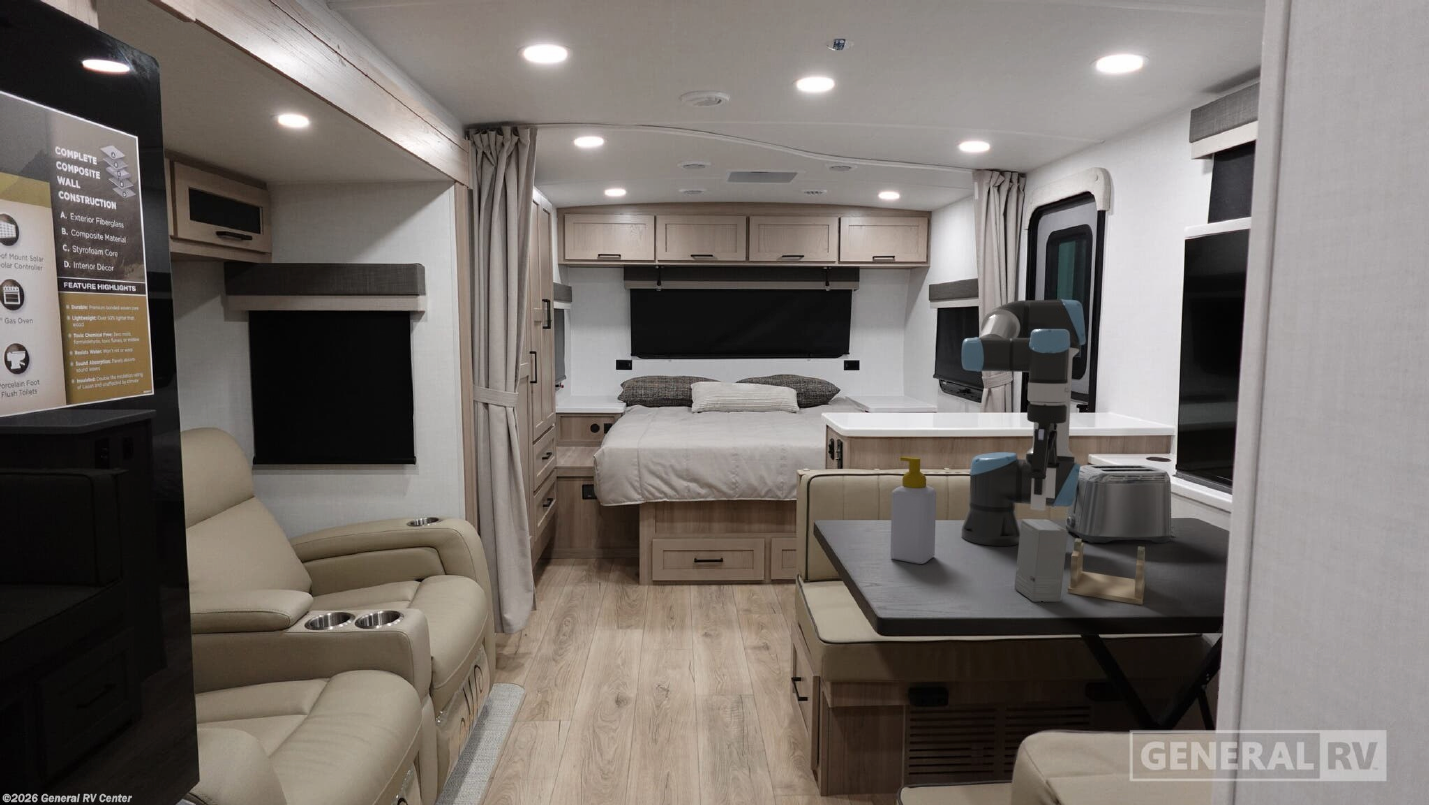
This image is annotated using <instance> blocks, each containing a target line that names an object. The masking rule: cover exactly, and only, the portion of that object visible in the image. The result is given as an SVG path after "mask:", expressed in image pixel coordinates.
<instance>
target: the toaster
mask: <svg viewBox="0 0 1429 805" xmlns="http://www.w3.org/2000/svg"><path fill="white" fill-rule="evenodd" d="M1066 508H1067V510H1066V516H1065V522H1064V525H1065V530H1067V531H1068V533H1074V534H1076V535H1077V536H1078V537H1079V539H1082V541H1085V542H1088V543H1089V544H1093V543H1099V544H1100V543H1102V544H1103V543H1110V542H1112V541H1122V540H1123V541H1124V540H1126V541H1127V540H1142V541H1143V540H1144V541H1151V542H1152V543H1156V544H1157V543H1160V544H1165V543H1166V542H1168V541H1170V540H1171V537H1172V534H1173V533H1174V531H1172V529H1173V528H1174V527H1173V526H1172V482H1171V476H1170V475H1169V473H1168V471H1167V470H1164V469H1160V468H1157V467H1154V466H1150V465H1144V464H1143V465H1142V464H1085V465H1084V464H1083V465H1080V471H1079V477H1078V483H1077V488H1076V493H1075V498H1074V501H1073V503H1072V505H1070V506H1068V507H1066Z"/></svg>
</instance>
